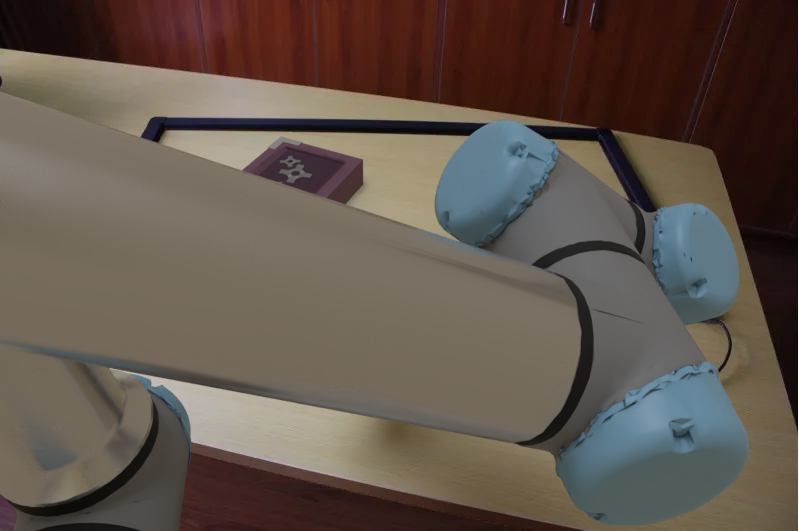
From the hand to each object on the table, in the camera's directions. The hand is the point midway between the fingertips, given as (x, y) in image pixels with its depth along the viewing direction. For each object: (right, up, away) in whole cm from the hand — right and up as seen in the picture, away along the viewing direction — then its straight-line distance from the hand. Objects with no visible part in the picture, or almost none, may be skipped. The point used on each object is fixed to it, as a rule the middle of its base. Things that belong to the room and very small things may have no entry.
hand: (364, 349), depth 68 cm
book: (-15, +18, +36) cm, 43 cm away
